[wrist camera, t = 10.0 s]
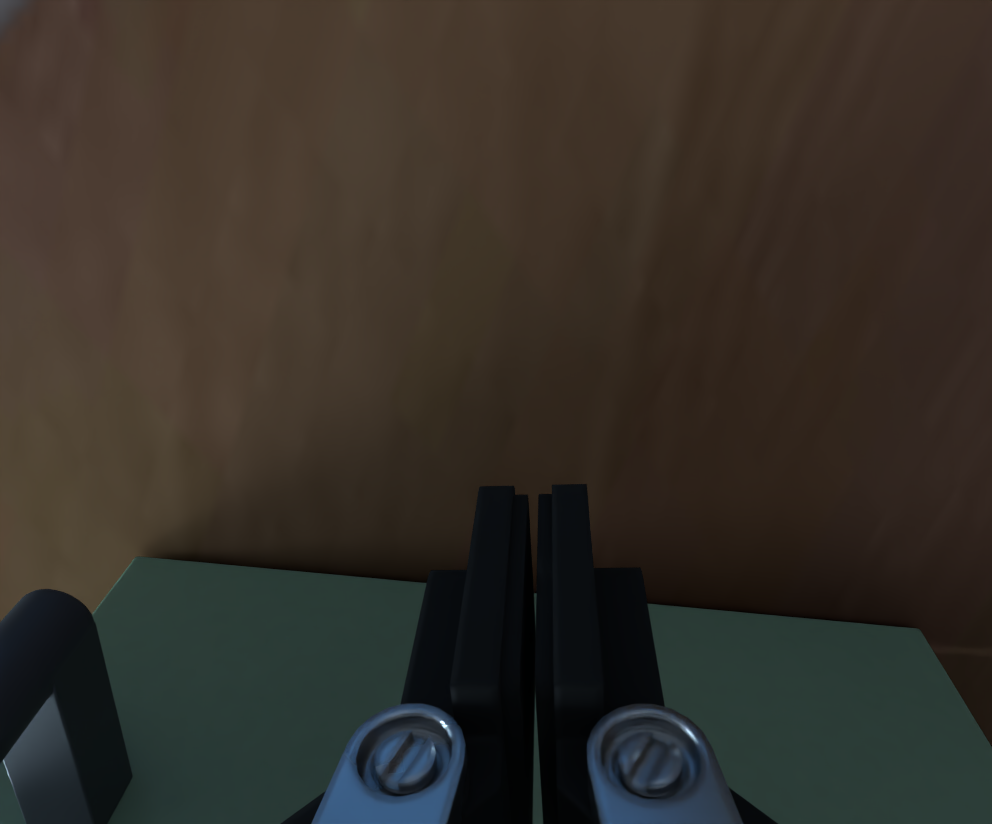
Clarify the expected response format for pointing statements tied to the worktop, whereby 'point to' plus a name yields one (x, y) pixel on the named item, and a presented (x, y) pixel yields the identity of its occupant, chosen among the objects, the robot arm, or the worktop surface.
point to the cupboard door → (380, 683)
